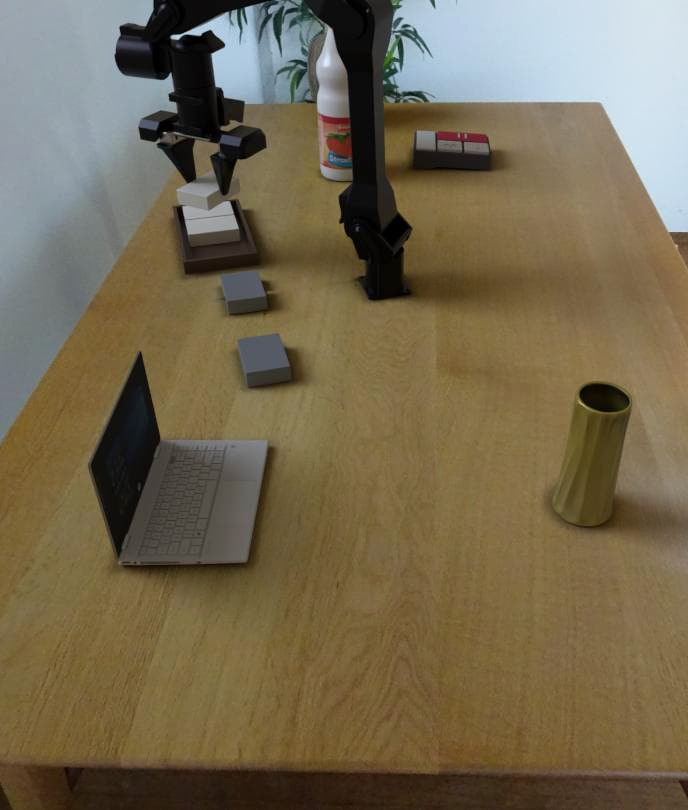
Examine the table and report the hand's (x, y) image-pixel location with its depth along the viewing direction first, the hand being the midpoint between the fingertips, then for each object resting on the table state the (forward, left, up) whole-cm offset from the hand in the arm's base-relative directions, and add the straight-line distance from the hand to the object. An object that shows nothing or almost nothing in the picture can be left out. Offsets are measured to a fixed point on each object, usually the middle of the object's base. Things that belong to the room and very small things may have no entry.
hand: (209, 191), depth 121 cm
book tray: (+6, 0, -11) cm, 12 cm away
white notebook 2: (+7, 0, -10) cm, 12 cm away
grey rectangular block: (-14, -2, -11) cm, 18 cm away
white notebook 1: (+12, 0, -10) cm, 16 cm away
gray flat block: (-32, -2, -11) cm, 34 cm away
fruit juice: (+29, -27, -11) cm, 41 cm away
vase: (-66, -29, -11) cm, 74 cm away
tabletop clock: (+58, -35, -11) cm, 69 cm away
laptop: (-54, +9, -11) cm, 56 cm away
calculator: (+30, -49, -11) cm, 59 cm away
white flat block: (0, 0, -1) cm, 1 cm away
